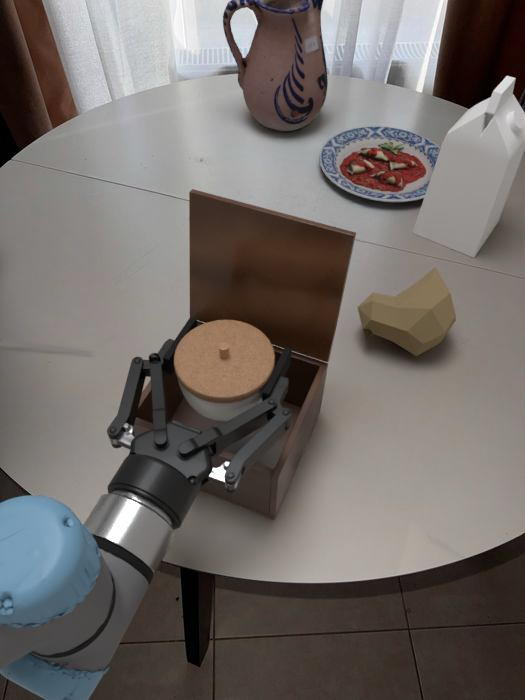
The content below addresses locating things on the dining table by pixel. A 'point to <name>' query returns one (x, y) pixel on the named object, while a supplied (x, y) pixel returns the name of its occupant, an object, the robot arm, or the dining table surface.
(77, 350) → the dining table surface
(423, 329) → the tan faceted lump
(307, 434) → the chest
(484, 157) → the milk
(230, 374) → the trinket box
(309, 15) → the ceramic pitcher
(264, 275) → the lid
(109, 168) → the dining table surface
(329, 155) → the ceramic plate
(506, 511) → the dining table surface
